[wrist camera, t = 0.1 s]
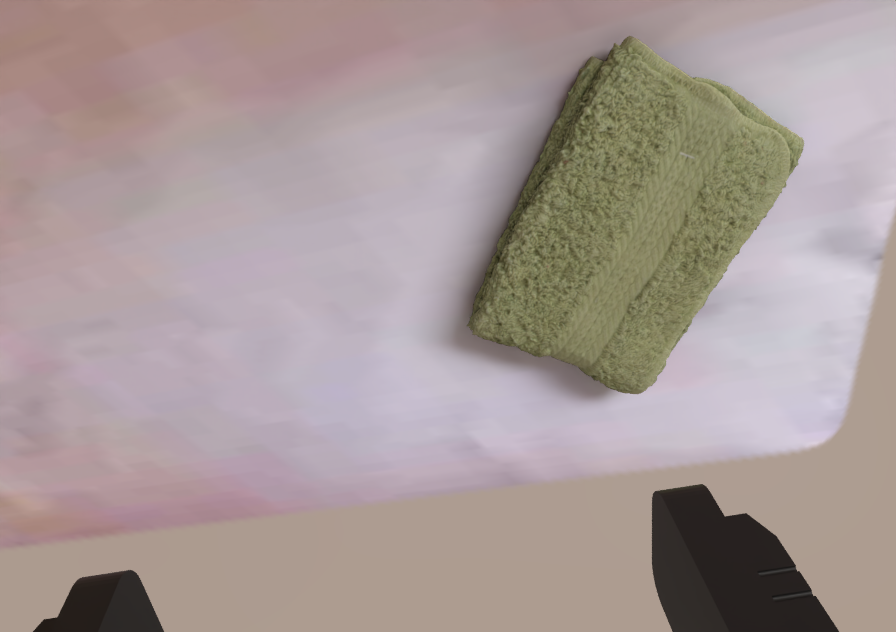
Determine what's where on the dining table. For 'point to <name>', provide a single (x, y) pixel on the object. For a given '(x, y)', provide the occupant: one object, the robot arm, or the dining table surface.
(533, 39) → the dining table surface
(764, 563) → the robot arm
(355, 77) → the dining table surface
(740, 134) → the washcloth
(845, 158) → the dining table surface
